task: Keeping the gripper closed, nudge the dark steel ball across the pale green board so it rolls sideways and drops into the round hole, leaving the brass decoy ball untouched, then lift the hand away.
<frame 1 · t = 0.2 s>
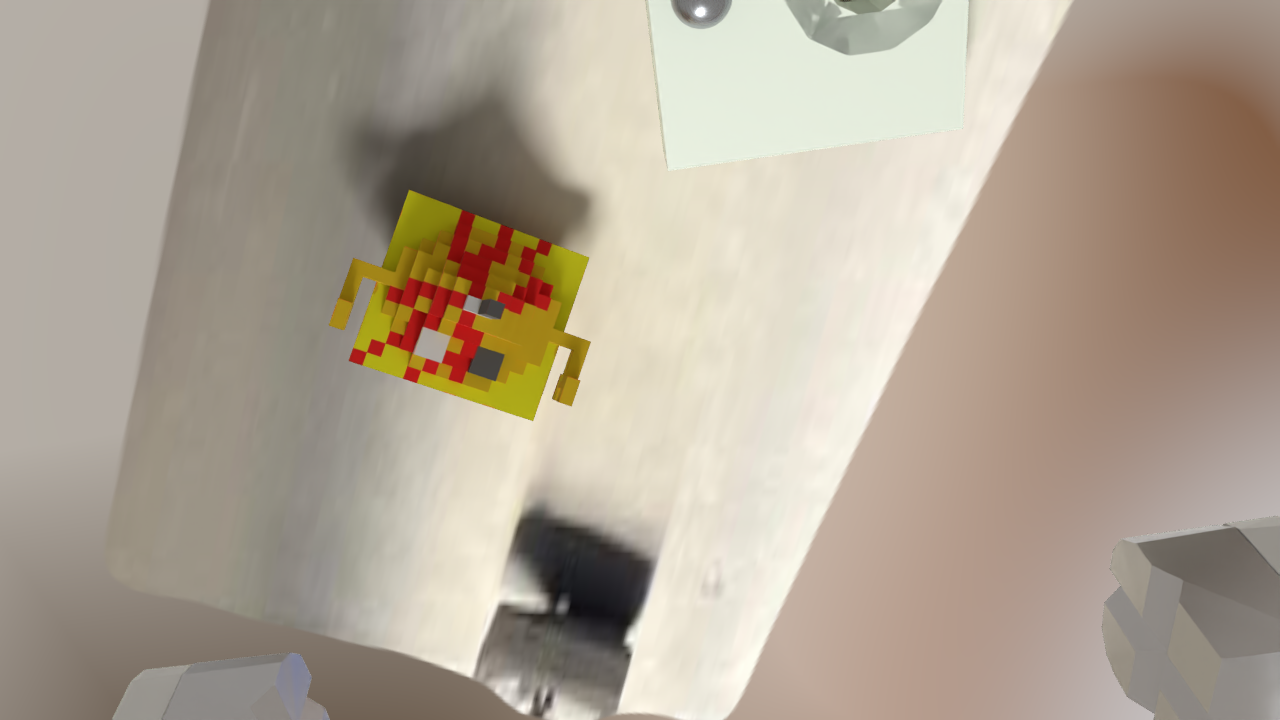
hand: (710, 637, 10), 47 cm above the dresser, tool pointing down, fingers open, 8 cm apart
toy: (476, 273, 59), on the dresser
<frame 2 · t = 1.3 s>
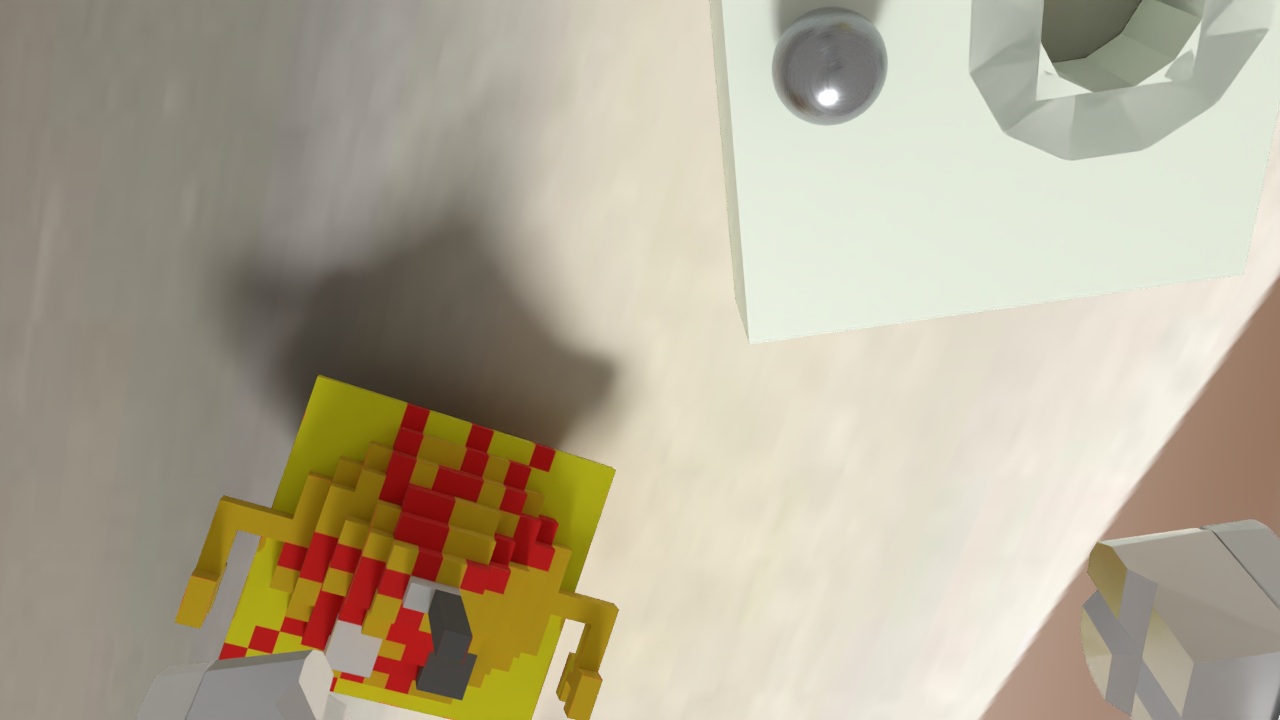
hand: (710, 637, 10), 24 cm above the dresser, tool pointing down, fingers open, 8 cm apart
ball: (829, 67, 26), point 5 cm above the dresser, touching board
toy: (438, 475, 38), on the dresser
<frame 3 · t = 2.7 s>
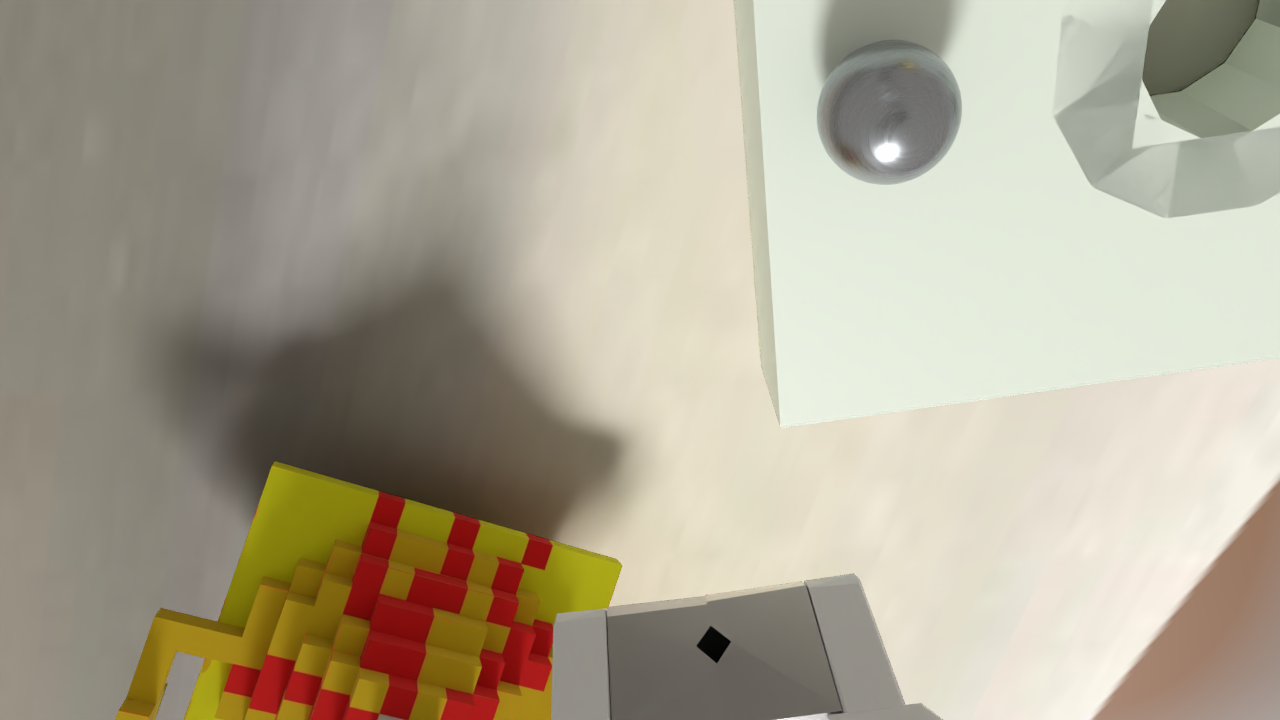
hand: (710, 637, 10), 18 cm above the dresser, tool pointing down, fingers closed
ball: (888, 113, 21), point 5 cm above the dresser, touching board
toy: (418, 560, 33), on the dresser
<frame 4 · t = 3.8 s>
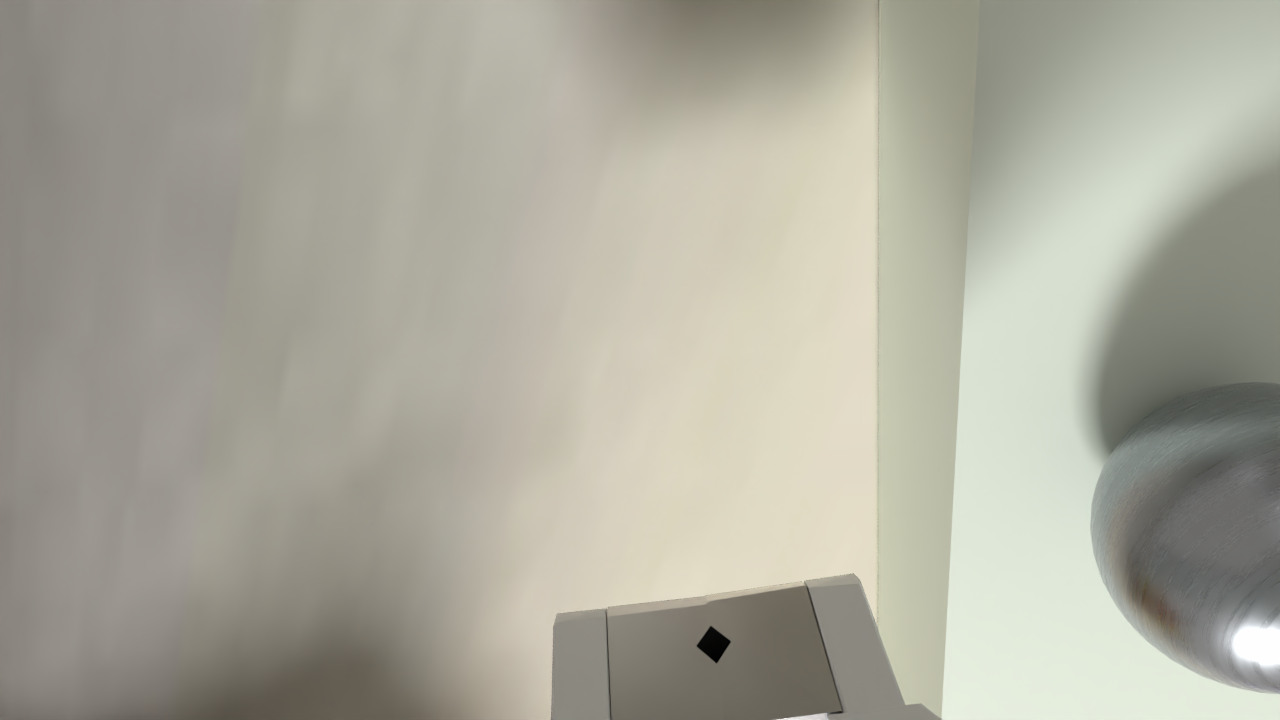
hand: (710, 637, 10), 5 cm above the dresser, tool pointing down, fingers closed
ball: (1257, 534, 10), point 5 cm above the dresser, touching board
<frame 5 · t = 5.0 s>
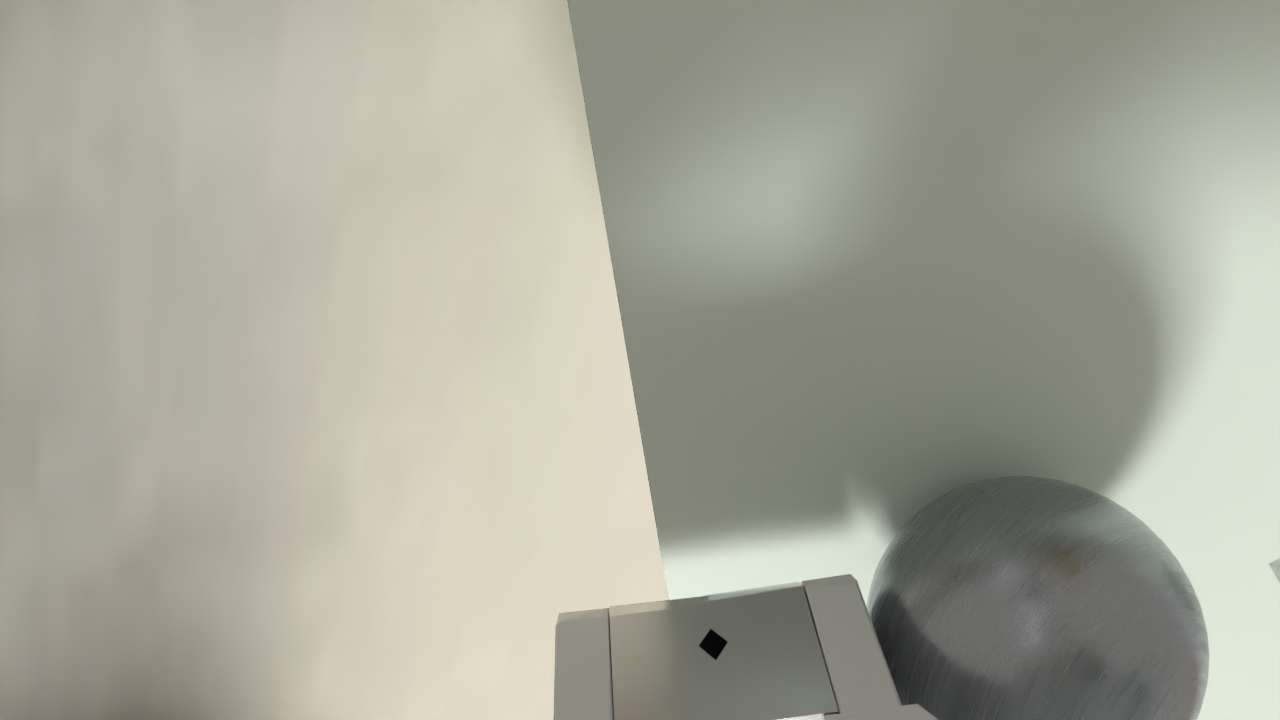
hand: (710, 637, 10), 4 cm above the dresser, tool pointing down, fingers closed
ball: (1027, 634, 9), point 5 cm above the dresser, tilted 33°, touching board, gripper
board: (1259, 183, 12), on the dresser
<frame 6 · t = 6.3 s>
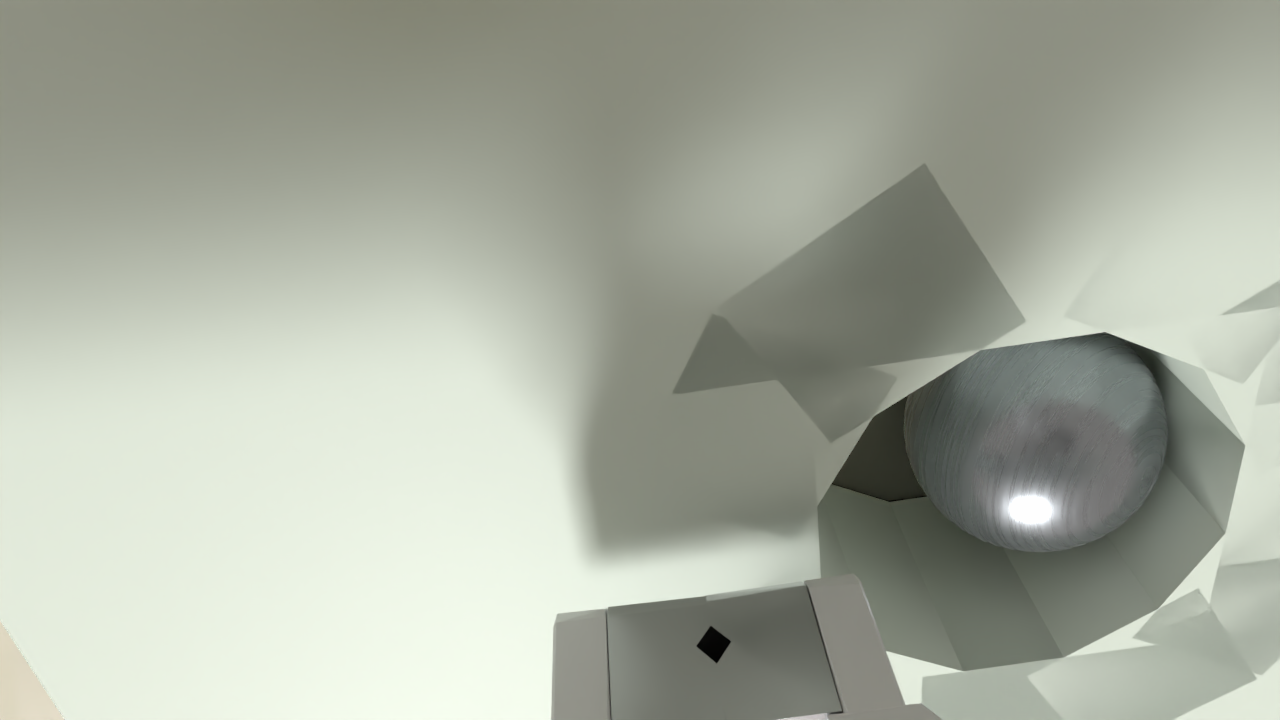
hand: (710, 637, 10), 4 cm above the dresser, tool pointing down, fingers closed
ball: (1029, 428, 12), point 1 cm above the dresser, tilted 32°
board: (699, 267, 12), on the dresser
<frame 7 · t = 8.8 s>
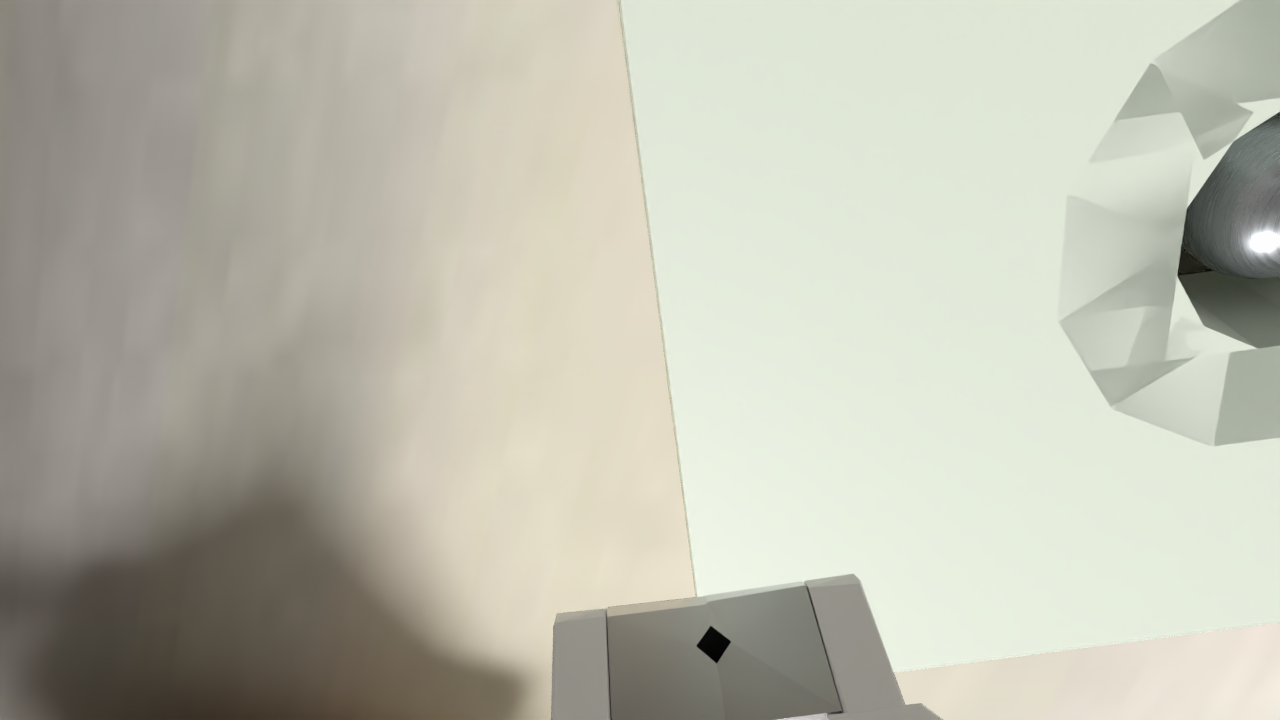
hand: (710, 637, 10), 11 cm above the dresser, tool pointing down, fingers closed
ball: (1260, 196, 18), point 1 cm above the dresser, tilted 8°
board: (1063, 85, 18), on the dresser
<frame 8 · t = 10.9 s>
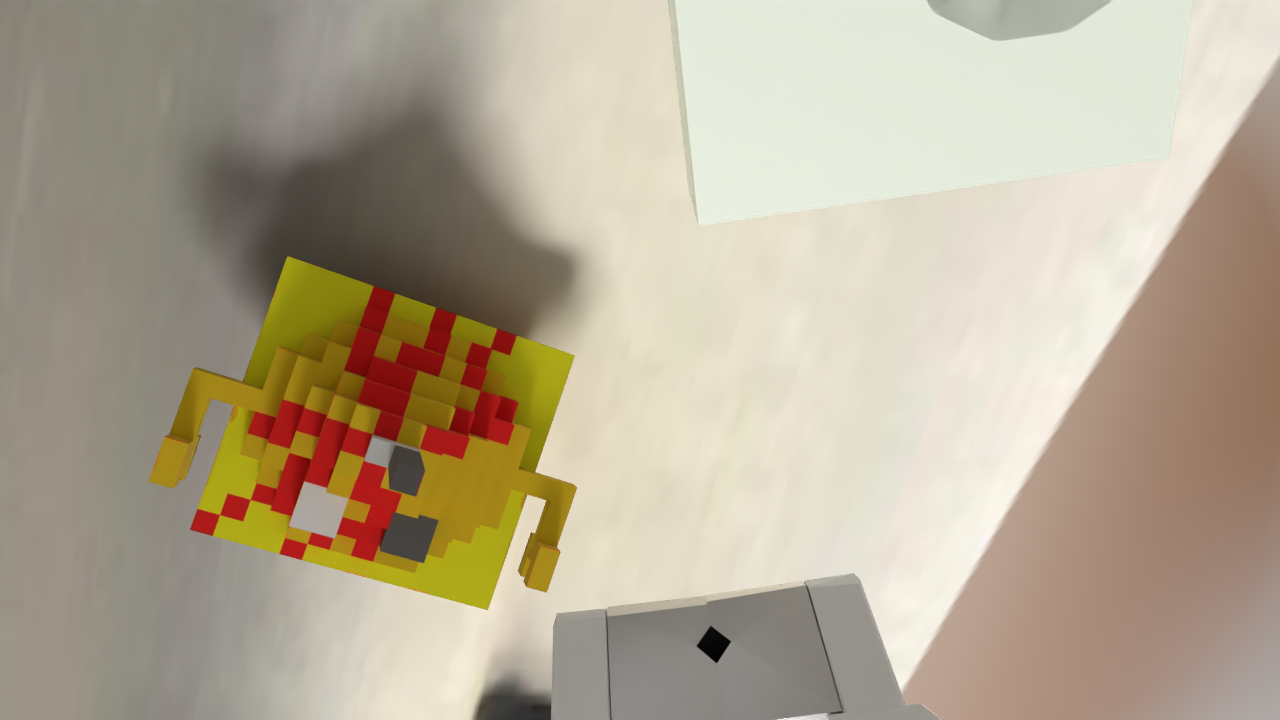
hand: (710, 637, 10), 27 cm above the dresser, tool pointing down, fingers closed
toy: (407, 371, 40), on the dresser
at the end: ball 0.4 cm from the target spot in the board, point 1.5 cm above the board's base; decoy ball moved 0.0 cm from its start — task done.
